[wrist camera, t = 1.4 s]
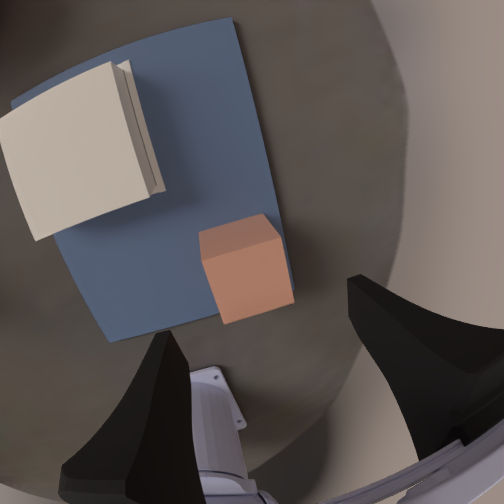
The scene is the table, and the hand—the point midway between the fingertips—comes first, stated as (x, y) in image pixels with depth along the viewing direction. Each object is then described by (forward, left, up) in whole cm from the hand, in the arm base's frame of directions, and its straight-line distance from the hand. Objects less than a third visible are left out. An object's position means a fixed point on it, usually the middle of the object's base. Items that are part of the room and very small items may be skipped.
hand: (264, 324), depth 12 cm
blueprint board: (+5, +4, -9) cm, 10 cm away
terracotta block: (0, 0, -8) cm, 8 cm away
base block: (+9, +7, -8) cm, 14 cm away
